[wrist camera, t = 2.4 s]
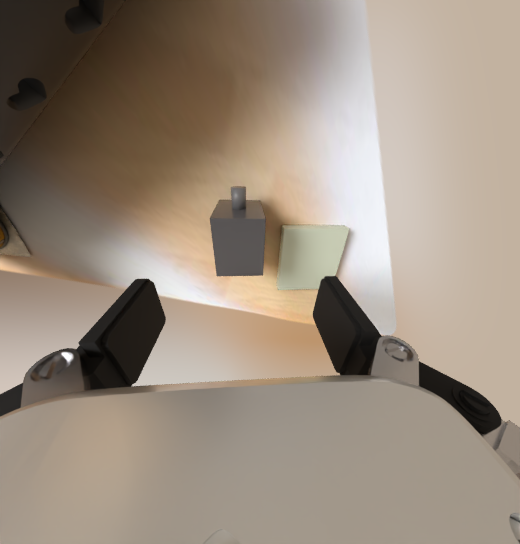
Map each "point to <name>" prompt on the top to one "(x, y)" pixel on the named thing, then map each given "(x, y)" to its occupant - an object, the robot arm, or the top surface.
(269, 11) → the top surface
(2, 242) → the condiment
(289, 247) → the mat
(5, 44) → the muzzle brake
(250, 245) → the block
